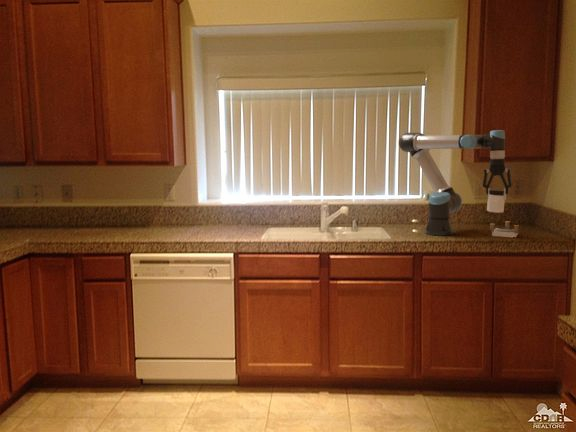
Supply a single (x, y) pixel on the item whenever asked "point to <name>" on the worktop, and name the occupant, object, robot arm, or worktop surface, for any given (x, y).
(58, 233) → the worktop surface
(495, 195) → the jar
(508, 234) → the cradle board
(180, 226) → the worktop surface
